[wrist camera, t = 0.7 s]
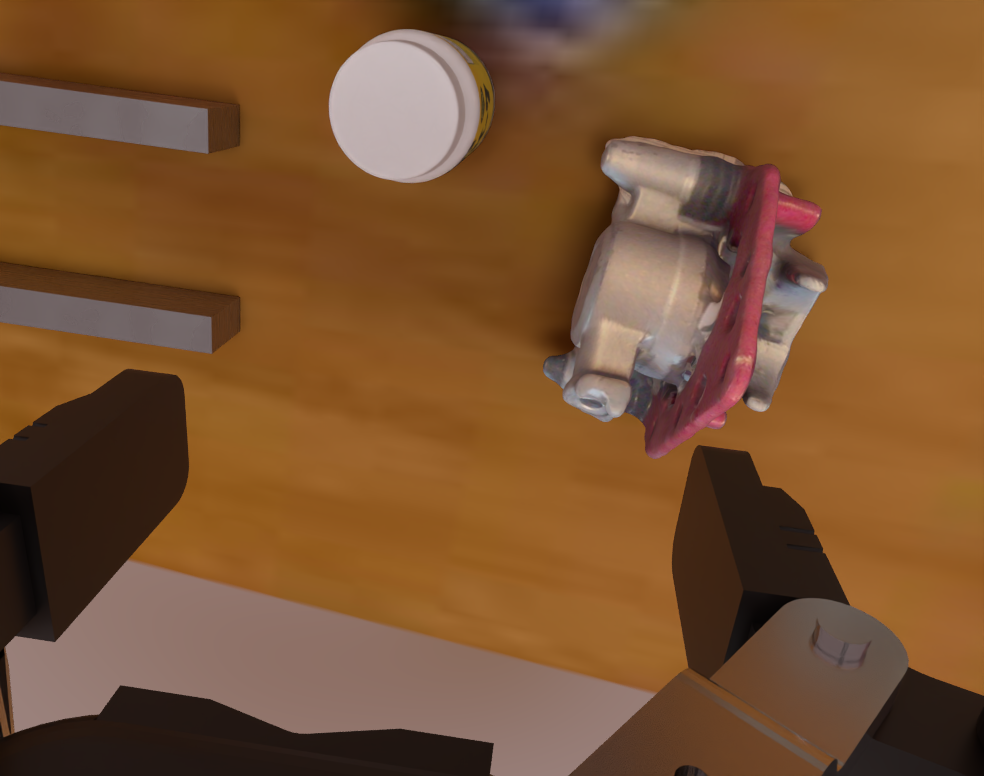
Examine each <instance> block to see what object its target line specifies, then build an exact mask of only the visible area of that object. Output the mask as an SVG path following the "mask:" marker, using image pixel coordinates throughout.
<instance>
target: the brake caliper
mask: <svg viewBox="0 0 984 776" xmlns="http://www.w3.org/2000/svg"><path fill="white" fill-rule="evenodd" d="M601 169H602V171H603V173H604V174H605V175H607V176H608V177H609V178H610V179H612V180H613V181H614V182H615V183H616V184H617V185H618V186H619V189H620V191H619V195H618V198H617V201H616V203H615V206H614V208H613V211H612V223H611V225H610V226H609V227H607V228H606V229H605V230H604V231H603V232H602V234H601V235H600V236H599V238H598V239H597V241H596V243H595V245H594V249H593V252H592V255H591V259H590V262H589V265H588V268H587V271H586V273H585V276H584V278H583V281H582V284H581V288H580V292H579V296H578V299H577V302H576V305H575V308H574V312H573V316H572V328H571V340H572V342H573V343H574V345H575V347H574V349H573V350H572V351H571V352H569V353H566V354H563V355H558V356H550V357H548V358H547V359H546V360H545V362H544V365H543V371H544V373H545V375H546V376H547V377H548V378H550V379H552V380H553V381H555V382H556V383H558V384H559V385H560V386H561V387H562V388H563V399H564V400H565V401H566V402H567V403H568V404H570V405H572V406H574V407H576V408H578V409H580V410H582V411H583V412H585V413H587V414H590V415H592V416H594V417H596V418H597V419H599V420H601V421H603V422H608V421H610V420H612V419H613V418H614V417H619V416H621V415H622V414H623V413H624V412H626V413H629V414H632V415H634V416H635V417H637V418H638V419H639V420H640V421H641V422H642V423H643V424H644V426H645V428H646V432H645V450H646V453H647V455H648V456H650V457H651V458H654V459H656V458H660V457H661V456H663V455H666V454H667V453H668V452H669V451H670V450H672V449H673V448H675V447H677V446H678V445H679V444H681V443H682V442H684V441H685V440H687V439H689V438H691V437H692V436H693V435H694V434H695V433H696V432H697V431H699V430H701V429H703V428H705V427H709V428H713V429H720V428H722V427H723V426H724V424H725V422H726V419H727V414H726V411H727V410H728V409H730V408H731V407H732V406H734V405H735V404H736V403H737V402H738V401H739V400H740V399H741V398H743V401H744V403H745V404H746V405H747V406H748V407H749V408H751V409H753V410H755V411H765V410H767V409H768V408H769V406H770V404H771V402H772V396H773V394H774V391H775V390H776V388H777V386H778V384H779V381H780V378H781V374H782V371H783V369H784V366H785V364H786V362H787V360H788V357H789V353H790V347H791V344H792V341H793V339H794V337H795V335H796V334H797V332H798V330H799V329H800V327H801V326H802V323H803V322H804V320H805V318H806V316H807V315H808V313H809V312H810V310H811V309H812V307H813V305H814V303H815V302H816V300H817V298H818V296H819V295H820V293H821V292H824V291H825V290H826V288H827V286H828V276H827V274H826V272H825V269H824V267H823V266H822V265H820V264H818V263H816V262H814V261H812V260H810V259H808V258H807V257H805V256H804V255H802V254H800V253H799V252H797V251H795V250H794V249H792V248H791V247H790V241H791V240H792V239H793V238H795V237H797V236H800V235H802V234H804V233H806V232H807V231H809V230H810V229H812V228H813V227H814V226H815V225H816V223H817V222H818V220H819V219H820V216H821V212H822V209H821V208H820V207H819V206H818V205H816V204H815V203H813V202H810V201H806V200H803V199H799V198H795V197H793V196H792V194H791V192H790V190H789V188H788V187H787V186H786V185H785V184H784V183H783V182H781V177H780V172H779V170H778V168H777V167H775V166H774V165H772V164H765V165H761V166H757V167H754V166H750V165H744V164H743V163H742V162H741V161H739V160H738V159H736V158H734V157H731V156H728V155H724V154H722V153H718V152H715V151H704V150H689V149H686V148H683V147H679V146H673V145H670V144H668V143H666V142H663V141H660V140H656V139H651V138H642V137H636V136H630V137H626V138H622V139H612V140H609V141H608V142H607V143H606V146H605V151H604V152H603V154H602V158H601Z"/></svg>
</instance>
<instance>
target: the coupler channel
mask: <svg viewBox="0 0 984 776" xmlns="http://www.w3.org/2000/svg"><path fill="white" fill-rule="evenodd" d="M0 125H5V126H12V127H19V128H27V129H34V130H41V131H48V132H56V133H63V134H70V135H77V136H85V137H92V138H99V139H106V140H114V141H121V142H128V143H135V144H143V145H150V146H157V147H164V148H172V149H179V150H186V151H193V152H201V153H208V154H209V153H213V152H217V151H221V150H225V149H229V148H232V147H236V146H239V105H236V104H229V103H222V102H214V101H207V100H199V99H192V98H185V97H177V96H170V95H162V94H155V93H148V92H140V91H133V90H125V89H118V88H111V87H103V86H96V85H88V84H81V83H73V82H66V81H59V80H51V79H44V78H36V77H29V76H22V75H14V74H7V73H0ZM0 322H4V323H10V324H17V325H24V326H30V327H37V328H44V329H50V330H57V331H64V332H70V333H77V334H84V335H90V336H97V337H104V338H111V339H117V340H124V341H131V342H137V343H144V344H151V345H157V346H164V347H171V348H177V349H184V350H191V351H197V352H204V353H211V354H212V353H213V352H215V351H216V350H217V349H218V348H220V347H221V346H222V345H223V344H225V343H226V342H227V341H228V340H230V339H231V338H232V337H233V336H235V335H236V334H237V333H238V332H240V297H235V296H228V295H222V294H215V293H208V292H201V291H194V290H187V289H180V288H174V287H167V286H160V285H153V284H146V283H139V282H133V281H126V280H119V279H112V278H105V277H98V276H91V275H85V274H78V273H71V272H64V271H57V270H50V269H44V268H37V267H30V266H23V265H16V264H9V263H2V262H0Z"/></svg>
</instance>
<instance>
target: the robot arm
mask: <svg viewBox="0 0 984 776" xmlns="http://www.w3.org/2000/svg"><path fill="white" fill-rule="evenodd" d="M188 471H189V458H188V443H187V427H186V412H185V396H184V388H183V384H182V382H181V380H180V378H179V377H178V376H176V375H172V374H164V373H156V372H149V371H141V370H134V369H126V370H124V371H122V372H121V373H120V374H118V375H117V376H115V377H114V378H113V379H111V380H110V381H108V382H107V383H105V384H104V385H103V386H101V387H100V388H98V389H97V390H96V391H94V392H93V393H91V394H88V395H86V396H83V397H80V398H77V399H75V400H72V401H69V402H67V403H64V404H61V405H58V406H56V407H54V408H53V409H52V410H50V411H49V412H47V413H46V414H44V415H43V416H41V417H40V418H39V419H37V420H36V421H34V422H33V425H32V426H29V425H28V426H27V427H25V428H24V429H23V430H21V431H20V432H18V433H17V434H15V435H14V438H13V439H8V440H7V441H5V442H4V443H2V444H1V445H0V776H493V775H491V774H490V768H491V761H492V753H493V745H494V743H488V742H482V741H475V740H469V739H463V738H456V737H450V736H443V735H437V734H430V733H424V732H417V731H411V730H405V729H387V730H369V731H351V732H333V733H315V734H298V733H292V732H289V731H286V730H284V729H281V728H279V727H277V726H274V725H272V724H269V723H267V722H264V721H262V720H259V719H257V718H255V717H252V716H250V715H247V714H245V713H242V712H240V711H237V710H235V709H233V708H230V707H228V706H225V705H223V704H220V703H218V702H215V701H213V700H211V699H204V698H198V697H192V696H186V695H179V694H173V693H166V692H160V691H153V690H146V689H140V688H134V687H128V686H120V687H119V688H118V690H117V691H116V692H115V694H114V695H113V696H112V698H111V699H110V701H109V702H108V703H107V705H106V706H105V707H104V709H103V710H102V712H101V713H100V714H99V715H88V716H81V717H75V718H68V719H62V720H58V721H54V722H49V723H45V724H41V725H38V726H35V727H32V728H29V729H25V730H22V731H19V732H16V733H15V729H14V719H13V707H12V695H11V686H10V673H9V664H8V659H7V653H6V648H5V646H6V645H7V644H8V643H9V642H10V641H11V640H12V639H13V638H14V637H15V636H20V637H26V638H32V639H39V640H45V641H52V642H55V641H56V640H57V639H58V638H59V637H60V636H61V635H62V634H63V632H64V631H65V630H66V629H67V628H68V627H69V626H70V624H71V623H72V622H73V621H74V620H75V619H76V617H78V615H79V614H80V613H81V612H82V611H83V610H84V609H85V607H86V606H87V605H88V604H89V603H90V602H91V601H92V599H93V598H94V597H95V596H96V595H97V594H98V593H99V592H100V590H101V589H102V588H103V587H104V586H105V585H106V584H107V582H108V581H109V580H110V579H111V578H112V577H113V575H114V574H115V573H116V572H117V571H118V570H119V569H120V568H121V567H122V565H123V564H124V563H125V562H126V561H127V560H128V559H129V557H130V556H131V555H132V554H133V553H134V552H135V551H136V550H137V548H138V547H139V546H140V545H141V544H142V543H143V542H144V540H145V539H146V538H147V537H148V536H149V535H150V534H151V533H152V531H153V530H154V529H155V528H156V527H157V526H158V525H159V523H160V522H161V521H162V520H163V519H164V518H165V517H166V515H167V514H168V513H169V512H170V511H171V510H172V509H173V508H174V506H175V505H176V504H177V503H178V501H179V500H180V498H181V496H182V494H183V492H184V489H185V486H186V483H187V478H188ZM672 573H673V579H674V585H675V591H676V597H677V603H678V609H679V615H680V620H681V626H682V632H683V638H684V644H685V650H686V656H687V661H688V667H689V668H688V669H685V670H683V671H682V672H680V673H679V674H678V675H677V676H675V677H674V678H673V679H672V680H671V681H670V682H669V683H668V684H667V685H666V686H665V687H664V688H663V689H661V690H660V691H659V692H658V693H657V694H656V695H655V696H654V697H653V698H652V699H651V700H650V701H649V702H647V704H645V705H644V706H643V707H642V708H641V709H640V710H639V711H638V712H637V713H636V714H635V715H633V716H632V717H631V718H630V719H629V720H628V721H627V722H626V723H625V724H624V725H623V726H622V727H620V729H618V730H617V731H616V732H615V733H614V734H613V735H612V736H611V737H610V738H609V739H608V740H606V741H605V742H604V743H603V744H602V745H601V746H600V747H599V748H598V749H597V750H596V751H595V752H594V753H593V754H591V755H590V756H589V757H588V758H587V759H586V760H585V761H584V762H583V763H582V764H581V765H580V766H578V767H577V768H576V770H574V771H573V772H572V773H571V774H570V775H569V776H984V696H983V695H980V694H977V693H974V692H971V691H968V690H966V689H963V688H960V687H957V686H954V685H951V684H949V683H946V682H943V681H940V680H937V679H934V678H932V677H929V676H927V675H924V674H922V673H920V672H918V671H916V670H913V669H911V668H909V667H908V661H909V660H908V656H907V652H906V650H905V648H904V646H903V644H902V643H901V642H900V640H899V639H898V638H897V637H896V635H895V634H894V633H893V632H892V631H891V630H890V629H888V628H887V627H886V626H885V625H884V624H882V623H881V622H879V621H878V620H877V619H875V618H874V617H872V616H870V615H868V614H866V613H865V612H863V611H861V610H858V609H856V608H854V607H852V606H850V604H849V602H848V600H847V598H846V596H845V594H844V592H843V590H842V588H841V585H840V583H839V581H838V579H837V577H836V575H835V573H834V571H833V569H832V567H831V564H830V562H829V560H828V558H827V556H826V554H825V553H823V548H822V546H821V543H820V541H819V539H818V537H817V535H814V529H813V527H812V525H811V522H810V520H809V518H808V516H807V514H806V512H805V510H804V509H803V508H802V507H801V506H800V505H799V504H798V503H797V502H796V501H795V500H793V499H792V498H791V497H790V496H789V495H788V494H787V493H786V492H784V491H783V490H782V489H781V488H775V487H767V486H763V485H762V483H761V481H760V478H759V476H758V473H757V471H756V468H755V466H754V463H753V461H752V459H751V456H750V454H749V453H748V452H746V451H738V450H731V449H723V448H716V447H708V446H701V445H698V446H697V447H696V449H695V450H694V453H693V456H692V460H691V464H690V468H689V473H688V477H687V482H686V486H685V490H684V495H683V499H682V504H681V508H680V513H679V517H678V522H677V526H676V531H675V536H674V542H673V552H672Z"/></svg>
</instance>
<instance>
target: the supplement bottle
mask: <svg viewBox="0 0 984 776" xmlns="http://www.w3.org/2000/svg"><path fill="white" fill-rule="evenodd" d="M494 109H495V93H494V87H493V83H492V80H491V77H490V74H489V72H488V70H487V68H486V66H485V65H484V63H483V62H482V60H481V59H480V58H479V57H478V56H477V55H476V53H474V52H473V51H472V50H471V49H470V48H469V47H467V46H466V45H464V44H463V43H461V42H459V41H457V40H455V39H452V38H449V37H444V36H441V35H437V34H433V33H429V32H425V31H421V30H414V29H399V30H393V31H389V32H386V33H383V34H381V35H379V36H377V37H375V38H373V39H371V40H370V41H368V42H367V43H366V44H364V45H363V46H362V47H361V48H360V49H359V50H358V51H356V52H355V53H354V54H352V55H351V56H350V57H349V58H348V59H347V60H346V61H345V63H344V64H343V65H342V66H341V68H340V69H339V71H338V73H337V75H336V77H335V79H334V82H333V84H332V88H331V91H330V97H329V116H330V122H331V127H332V130H333V133H334V135H335V138H336V140H337V142H338V144H339V146H340V147H341V149H342V150H343V152H344V153H345V154H346V156H347V157H348V158H349V159H350V160H351V161H352V162H353V163H354V164H355V165H357V166H358V167H359V168H361V169H362V170H364V171H365V172H367V173H369V174H371V175H373V176H376V177H379V178H383V179H388V180H393V181H397V182H402V183H419V182H426V181H429V180H432V179H435V178H438V177H440V176H442V175H443V174H445V173H447V172H449V171H450V170H452V169H453V168H454V167H456V166H457V165H458V164H459V163H460V162H461V161H463V160H464V159H465V158H466V157H467V156H468V155H469V154H471V153H472V152H473V151H474V150H475V149H476V148H477V147H478V146H479V145H480V144H481V142H482V141H483V139H484V138H485V136H486V134H487V132H488V130H489V128H490V125H491V123H492V119H493V115H494Z"/></svg>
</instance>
